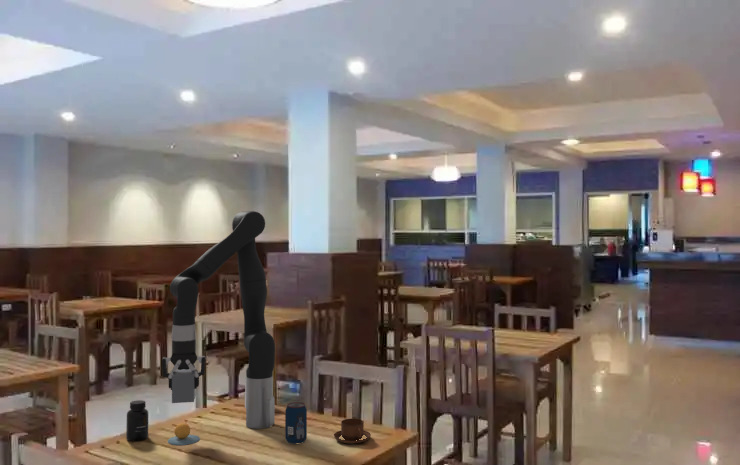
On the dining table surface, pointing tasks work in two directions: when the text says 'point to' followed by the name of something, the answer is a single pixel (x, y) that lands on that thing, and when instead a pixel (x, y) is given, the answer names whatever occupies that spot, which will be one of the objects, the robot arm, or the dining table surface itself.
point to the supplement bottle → (137, 421)
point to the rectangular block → (183, 386)
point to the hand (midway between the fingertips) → (183, 388)
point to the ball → (182, 430)
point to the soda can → (296, 422)
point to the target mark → (184, 440)
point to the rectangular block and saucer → (352, 431)
